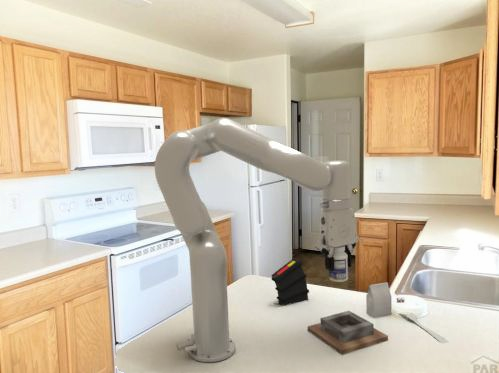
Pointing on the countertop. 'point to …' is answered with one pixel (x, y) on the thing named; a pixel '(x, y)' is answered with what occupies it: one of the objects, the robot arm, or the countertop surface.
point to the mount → (347, 332)
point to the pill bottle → (339, 265)
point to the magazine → (291, 283)
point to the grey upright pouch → (378, 300)
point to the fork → (438, 337)
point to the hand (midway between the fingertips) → (338, 267)
